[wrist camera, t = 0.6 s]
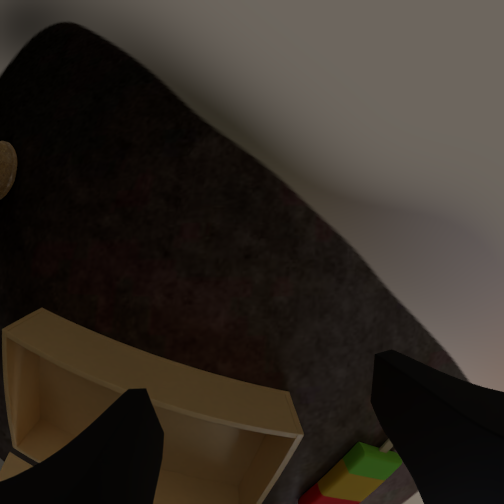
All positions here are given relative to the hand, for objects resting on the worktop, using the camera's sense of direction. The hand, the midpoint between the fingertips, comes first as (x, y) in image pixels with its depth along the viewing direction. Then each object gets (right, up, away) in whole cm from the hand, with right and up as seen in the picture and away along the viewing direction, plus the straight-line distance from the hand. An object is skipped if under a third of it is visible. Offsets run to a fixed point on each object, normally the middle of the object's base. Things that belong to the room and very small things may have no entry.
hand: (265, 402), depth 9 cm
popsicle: (+10, -14, +13) cm, 21 cm away
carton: (-8, -7, +10) cm, 15 cm away
